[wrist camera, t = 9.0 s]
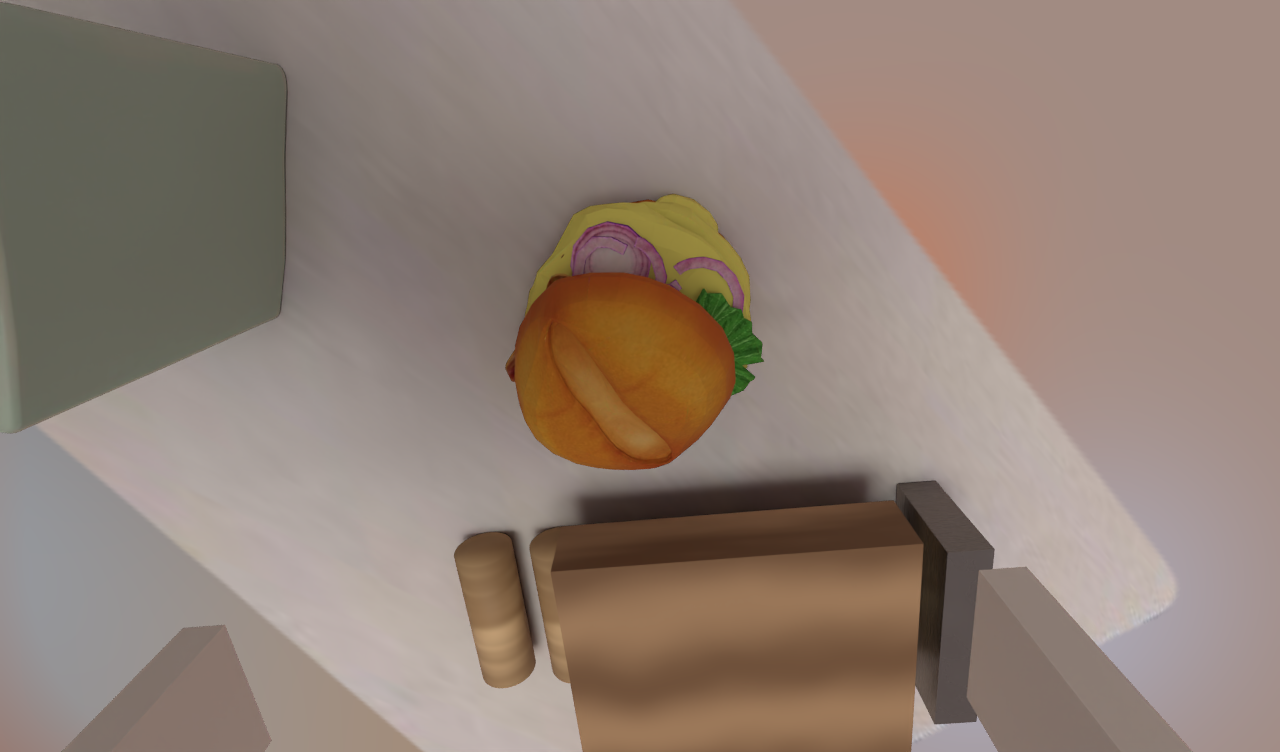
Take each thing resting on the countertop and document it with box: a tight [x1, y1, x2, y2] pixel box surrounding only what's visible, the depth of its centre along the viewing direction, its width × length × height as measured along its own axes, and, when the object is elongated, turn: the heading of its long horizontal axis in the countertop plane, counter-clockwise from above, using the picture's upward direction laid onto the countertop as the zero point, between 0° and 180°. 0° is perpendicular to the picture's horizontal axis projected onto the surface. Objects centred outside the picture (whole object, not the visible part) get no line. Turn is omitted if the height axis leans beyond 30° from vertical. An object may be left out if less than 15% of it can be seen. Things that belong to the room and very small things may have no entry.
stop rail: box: [896, 481, 995, 724], centre depth 32 cm, size 10×2×6 cm, turn 6°
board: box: [551, 500, 924, 752], centre depth 31 cm, size 12×16×4 cm
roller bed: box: [454, 527, 570, 688], centre depth 34 cm, size 8×23×3 cm, turn 96°
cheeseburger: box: [505, 194, 764, 470], centre depth 27 cm, size 10×11×10 cm
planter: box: [0, 2, 287, 433], centre depth 20 cm, size 16×8×20 cm, turn 125°
